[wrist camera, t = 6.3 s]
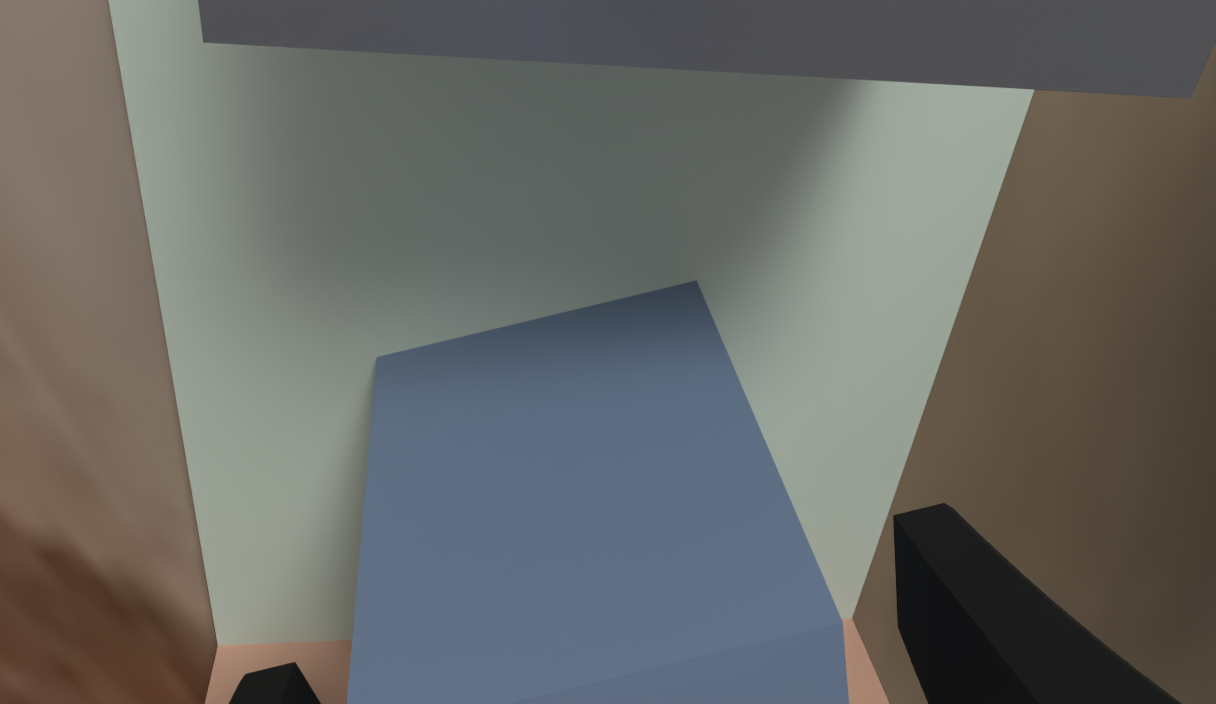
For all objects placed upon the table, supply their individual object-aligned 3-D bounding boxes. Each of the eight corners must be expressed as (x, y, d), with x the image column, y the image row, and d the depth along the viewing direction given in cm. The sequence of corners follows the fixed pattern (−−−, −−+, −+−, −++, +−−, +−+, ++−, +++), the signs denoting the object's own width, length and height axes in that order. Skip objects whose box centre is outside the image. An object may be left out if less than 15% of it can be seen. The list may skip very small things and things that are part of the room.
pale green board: (1215, -505, 10) (1844, -645, 5) (829, 644, 19) (948, 935, 15) (2, -718, 8) (-542, -1204, 4) (229, 673, 17) (159, 1017, 13)
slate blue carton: (697, 280, 14) (842, 621, 9) (737, 532, 17) (864, 896, 12) (376, 357, 14) (343, 742, 9) (473, 596, 16) (488, 987, 12)
